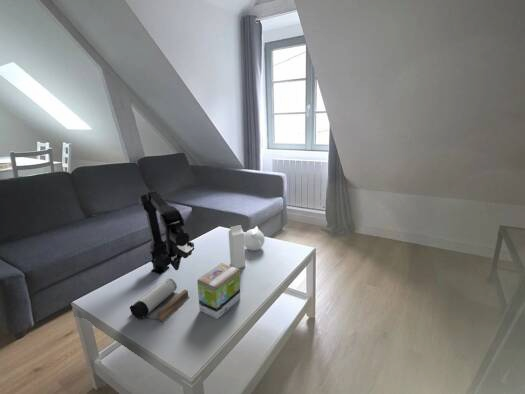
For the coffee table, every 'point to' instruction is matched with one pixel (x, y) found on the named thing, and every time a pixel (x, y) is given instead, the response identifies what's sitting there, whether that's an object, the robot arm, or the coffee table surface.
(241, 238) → the milk
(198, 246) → the coffee table surface
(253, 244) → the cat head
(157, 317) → the cradle
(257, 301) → the coffee table surface
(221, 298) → the tea box
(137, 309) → the travel mug
